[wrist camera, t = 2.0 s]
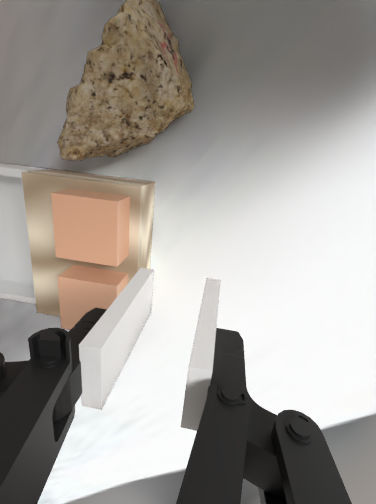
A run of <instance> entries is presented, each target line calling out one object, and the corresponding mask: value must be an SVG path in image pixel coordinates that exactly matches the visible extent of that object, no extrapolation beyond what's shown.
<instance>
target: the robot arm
mask: <svg viewBox="0 0 376 504" xmlns="http://www.w3.org/2000/svg"><path fill="white" fill-rule="evenodd" d="M153 276H154V270H152V269H146V268H140V269H139V270H138V272H137V273H136V274H135V275H134V277H133V278H132V279H131V280H130V282H129V283H128V284H127V285H126V287H125V288H124V289H123V290H122V292H121V293H120V294H119V295H118V297H117V298H116V299H115V300H114V302H113V303H112V304H111V305H110V307H109V308H108V309H101V308H94V309H92V310H90V311H89V312H87V313H85V315H84V316H83V317H82V318H81V319H80V321H78V322H77V323H76V324H75V325H74V327H73V328H72V329H71V330H70V331H69V332H67V331H66V330H64V329H60V328H48V329H44V330H41V331H39V332H37V333H34V334H33V335H32V336H31V337H29V338H28V341H29V349H30V357H31V359H30V360H29V361H19V362H5V359H4V356H3V354H2V353H0V504H37V503H38V500H39V498H40V496H41V493H42V491H43V488H44V486H45V484H46V481H47V479H48V477H49V474H50V472H51V470H52V467H53V465H54V463H55V460H56V458H57V456H58V453H59V451H60V449H61V446H62V444H63V442H64V439H65V437H66V435H67V432H68V430H69V428H70V425H71V423H72V421H73V418H74V414H75V404H76V402H77V400H78V399H79V397H80V396H81V399H82V406H86V407H91V408H96V409H100V410H102V408H103V406H104V404H105V402H106V400H107V398H108V396H109V394H110V392H111V390H112V388H113V386H114V384H115V382H116V380H117V378H118V376H119V374H120V372H121V371H122V369H123V367H124V365H125V363H126V361H127V359H128V357H129V355H130V353H131V351H132V349H133V347H134V345H135V343H136V341H137V339H138V337H139V335H140V333H141V331H142V329H143V327H144V325H145V323H146V321H147V319H148V317H149V315H150V313H151V309H152V293H153ZM219 291H220V280H216V279H209V278H206V283H205V288H204V293H203V298H202V303H201V308H200V313H199V318H198V323H197V328H196V333H195V338H194V343H193V348H192V353H191V358H190V362H189V368H188V376H187V384H186V391H185V399H184V407H183V414H182V422H181V427H183V428H187V429H192V430H197V434H196V437H195V441H194V444H193V447H192V451H191V454H190V458H189V461H188V465H187V468H186V472H185V475H184V479H183V482H182V485H181V489H180V492H179V496H178V499H177V503H176V504H240V501H241V500H240V499H241V490H242V482H243V478H244V479H246V480H248V481H249V482H251V483H252V484H254V485H256V486H257V487H258V489H259V495H260V501H261V504H352V503H351V501H350V499H349V496H348V494H347V492H346V489H345V486H344V484H343V482H342V479H341V477H340V474H339V472H338V469H337V467H336V465H335V462H334V460H333V457H332V455H331V453H330V450H329V448H328V446H327V443H326V441H325V438H324V436H323V434H322V432H321V430H320V428H319V427H318V425H317V424H316V423H315V422H314V421H313V420H312V419H311V418H310V417H308V416H306V415H305V414H303V413H301V412H298V411H295V410H284V411H282V412H280V413H279V414H278V416H277V415H275V414H273V413H271V412H269V411H267V410H265V409H264V408H262V407H260V406H259V405H258V404H256V403H255V402H254V401H253V400H252V398H251V397H250V395H249V394H248V392H247V388H246V377H245V361H244V345H243V339H242V337H241V336H240V334H239V333H238V332H236V331H231V330H225V329H219V328H216V326H217V314H218V303H219Z"/></svg>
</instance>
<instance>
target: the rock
mask: <svg viewBox="0 0 376 504" xmlns="http://www.w3.org/2000/svg"><path fill="white" fill-rule="evenodd" d="M191 87H192V83H191V80H190V77H189V75H188V73H187V71H186V68H185V65H184V61H183V58H182V57H181V56H180V54H179V46H178V40H177V38H176V36H175V35H174V34H173V32H172V31H171V29H170V27H169V26H168V25H167V22H166V19H165V16H164V13H163V12H162V9H161V6H160V4H159V3H158V1H157V0H126V2H125V3H124V4H122V5H121V6H120V9H119V12H118V14H117V15H116V16H114V17H113V18H111V19H110V20H109V21H108V22H107V23H106V24H105V26H104V30H103V34H102V44H101V45H100V46H99V47H97V48H95V49H93V50H91V51H89V52H87V61H86V64H85V67H84V74H83V76H82V80H81V83H80V84H79V85H77V86H76V87H73V88H70V91H69V93H68V97H67V104H66V111H67V118H66V121H65V124H64V126H63V130H62V132H61V135H60V137H59V139H58V142H57V143H58V145H59V148H60V157H61V158H62V159H65V160H70V161H76V160H81V161H82V160H83V159H86V158H92V157H102V156H104V155H106V156H110V157H116V156H119V155H121V154H122V153H125V152H128V151H129V150H131V149H133V148H135V147H138V146H140V145H142V144H147V143H149V142H151V141H152V140H153V139H154V138H155V137H156V136H157V135H158V134H160V133H161V132H162V131H163V130H165V129H166V128H167V126H168V125H169V124H170V123H171V122H172V121H173V120H174V119H177V118H178V117H180V116H182V115H184V114H186V113H188V112H191V111H192V110H193V109H194V101H193V97H192V95H191Z"/></svg>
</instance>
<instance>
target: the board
mask: <svg viewBox="0 0 376 504" xmlns="http://www.w3.org/2000/svg"><path fill="white" fill-rule="evenodd" d="M21 173H22V182H23V191H24V200H25V209H26V218H27V227H28V236H29V245H30V254H31V263H32V272H33V281H34V290H35V299H36V308H37V313H42V314H48V315H53V316H59V317H60V304H59V291H58V278H57V276H59V275H60V274H61V273H63V272H64V271H66V270H67V269H69V268H70V267H71V266H73V265H80V266H86V267H92V268H99V269H105V270H111V271H117V272H124V273H128V283H129V282H130V280H131V279H132V278H133V277H134V275H135V274H136V273H137V272H138V270H139V269H140V268H146V269H150V261H151V243H152V226H153V208H154V190H155V182H153V181H144V180H136V179H128V178H120V177H112V176H104V175H95V174H87V173H79V172H71V171H63V170H55V169H51V170H39V171H27V172H21ZM66 189H77V190H84V191H92V192H100V193H108V194H115V195H123V196H130V220H129V256H128V257H127V258H126V259H125V260H124V261H123V262H121V263H120V264H119V265H118V266H117V267H115V266H108V265H102V264H96V263H89V262H83V261H77V260H71V259H64V258H58V257H56V251H55V238H54V225H53V212H52V199H51V193H52V192H57V191H62V190H66Z"/></svg>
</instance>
